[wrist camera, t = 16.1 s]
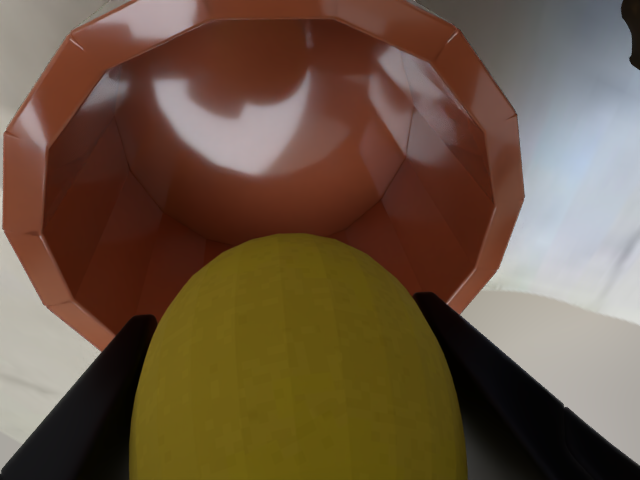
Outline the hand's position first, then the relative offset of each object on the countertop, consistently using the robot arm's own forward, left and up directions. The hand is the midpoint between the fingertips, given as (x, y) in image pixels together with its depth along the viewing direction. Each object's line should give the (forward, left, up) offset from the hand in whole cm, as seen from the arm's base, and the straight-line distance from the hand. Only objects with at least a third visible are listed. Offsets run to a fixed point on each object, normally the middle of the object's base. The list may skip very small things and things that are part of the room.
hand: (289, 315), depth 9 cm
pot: (0, 0, -10) cm, 10 cm away
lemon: (0, 0, -2) cm, 2 cm away
